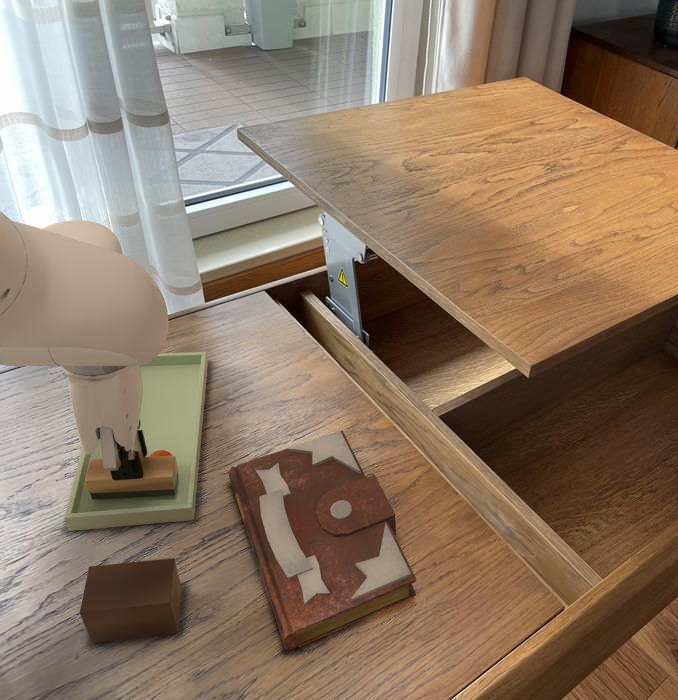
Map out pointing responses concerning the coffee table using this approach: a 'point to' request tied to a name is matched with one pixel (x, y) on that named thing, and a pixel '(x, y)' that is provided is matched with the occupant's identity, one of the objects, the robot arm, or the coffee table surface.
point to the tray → (154, 447)
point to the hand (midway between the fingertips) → (130, 465)
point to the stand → (131, 600)
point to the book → (321, 538)
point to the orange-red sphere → (160, 453)
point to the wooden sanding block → (155, 480)
